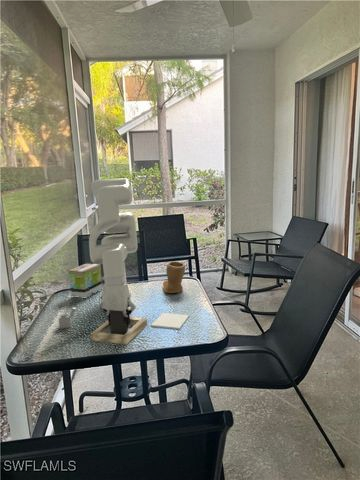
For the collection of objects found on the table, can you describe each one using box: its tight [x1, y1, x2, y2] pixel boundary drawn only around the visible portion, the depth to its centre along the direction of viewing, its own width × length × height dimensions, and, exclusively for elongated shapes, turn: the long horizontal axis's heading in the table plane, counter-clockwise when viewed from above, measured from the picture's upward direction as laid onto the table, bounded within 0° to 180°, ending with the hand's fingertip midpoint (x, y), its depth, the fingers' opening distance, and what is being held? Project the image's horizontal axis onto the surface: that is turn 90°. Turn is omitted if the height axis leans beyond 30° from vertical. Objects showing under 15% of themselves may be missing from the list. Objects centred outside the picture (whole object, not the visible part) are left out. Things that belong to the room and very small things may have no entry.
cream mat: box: [150, 312, 190, 330], centre depth 135 cm, size 12×12×1 cm
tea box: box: [68, 263, 103, 298], centre depth 175 cm, size 15×10×15 cm, turn 160°
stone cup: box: [162, 261, 186, 294], centre depth 172 cm, size 15×12×15 cm
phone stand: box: [110, 310, 129, 335], centre depth 127 cm, size 9×6×12 cm, turn 6°
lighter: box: [58, 306, 77, 329], centre depth 136 cm, size 7×2×8 cm, turn 100°
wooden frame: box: [89, 316, 148, 345], centre depth 128 cm, size 15×17×2 cm
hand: (119, 324), depth 127 cm, fingers closed on phone stand, 6 cm apart
